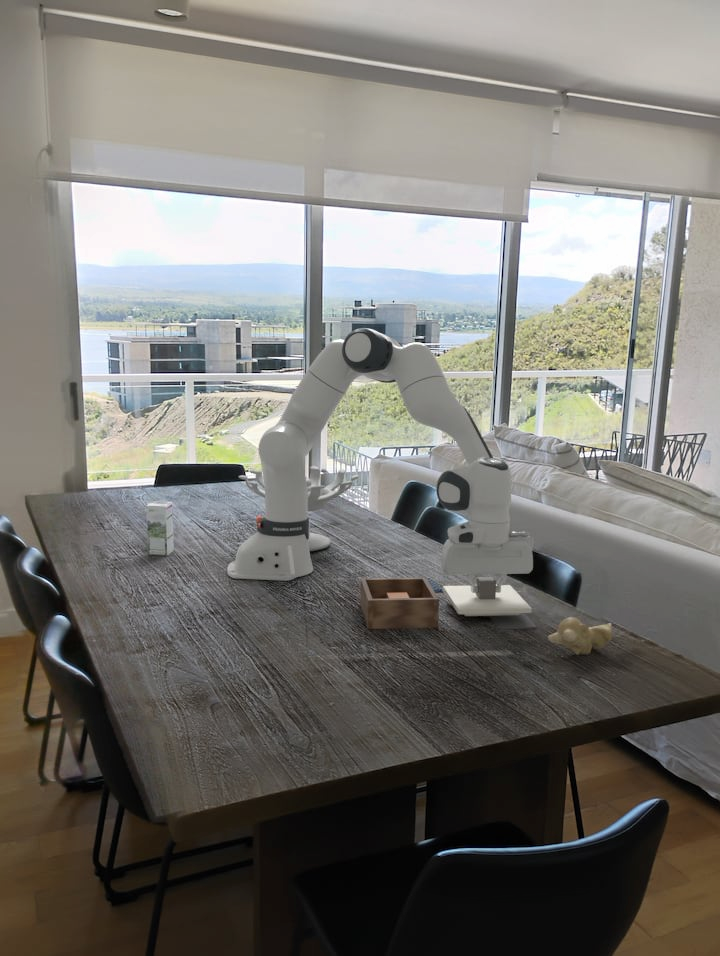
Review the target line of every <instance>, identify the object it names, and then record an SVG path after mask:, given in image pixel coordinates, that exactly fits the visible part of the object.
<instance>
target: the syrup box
mask: <svg viewBox="0 0 720 956" xmlns="http://www.w3.org/2000/svg"><path fill="white" fill-rule="evenodd" d="M173 510H174V509H173V502H172V501H154V500H153V501H150V502H149V503H148V504H147V505H146V527H147V532H146V534H147V553H148V556H159V557H160V556H161V557H162V556H163V557H167V556H169V555H171V554H172V553H173V552H174V550H175V549H174V547H175V545H174V521H173V520H174V515H173V514H174V513H173Z"/></svg>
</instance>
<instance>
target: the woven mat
mask: <svg viewBox="0 0 720 956" xmlns="http://www.w3.org/2000/svg"><path fill="white" fill-rule="evenodd" d="M427 580H428V582H429V583H430V585H431V587H432V588H433V590H434V592H435V593H436V592H437V593H438V592H441V591H442V592H443V593H444V591H443V588H442V587H441V586H440V585H439V584H437V583H436V582H435V581H434V580H433V579H431V578H429V577H428V578H427Z"/></svg>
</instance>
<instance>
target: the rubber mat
mask: <svg viewBox="0 0 720 956" xmlns="http://www.w3.org/2000/svg"><path fill="white" fill-rule="evenodd" d="M488 618H489V619H490V620H491V622H492V624H493V625H494V626H495V627H496V628H497V630H501V631H502V630H537V628H538V626H537V625H536V624H535V623H534V622H533V620H531V618H530V617H529V616H528V615H527V613H519V615H499V616H488Z"/></svg>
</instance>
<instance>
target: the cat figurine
mask: <svg viewBox="0 0 720 956" xmlns="http://www.w3.org/2000/svg"><path fill="white" fill-rule="evenodd" d="M612 626H613V625H612V623H611V622H609V623H608V622H607V623H606V624H600V625H594V626H588V625H587V624H585V623H582V622H581V620H579V619H578V618H577V617H573V616H570V617H566V618H564V619H562V620H561V621H560V622H559V624H558V626H557V631H556V632H554V633H552V634H549V635H548V636H547V639H548V641H549V642H551V643H552V644H557V645H559V644H560V645H561V644H562V645H563V646H564V647H565V648H568V649H569V650H570V651H571V650H572V651H573V652H574V653H575V654H576V655H577V656H579V655H590V654H591V652H592V649H596V650H597V649H602V648H603V647H605V646H606V645H607V644H608V643H609V642H611V640H612V638H613V627H612Z"/></svg>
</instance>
